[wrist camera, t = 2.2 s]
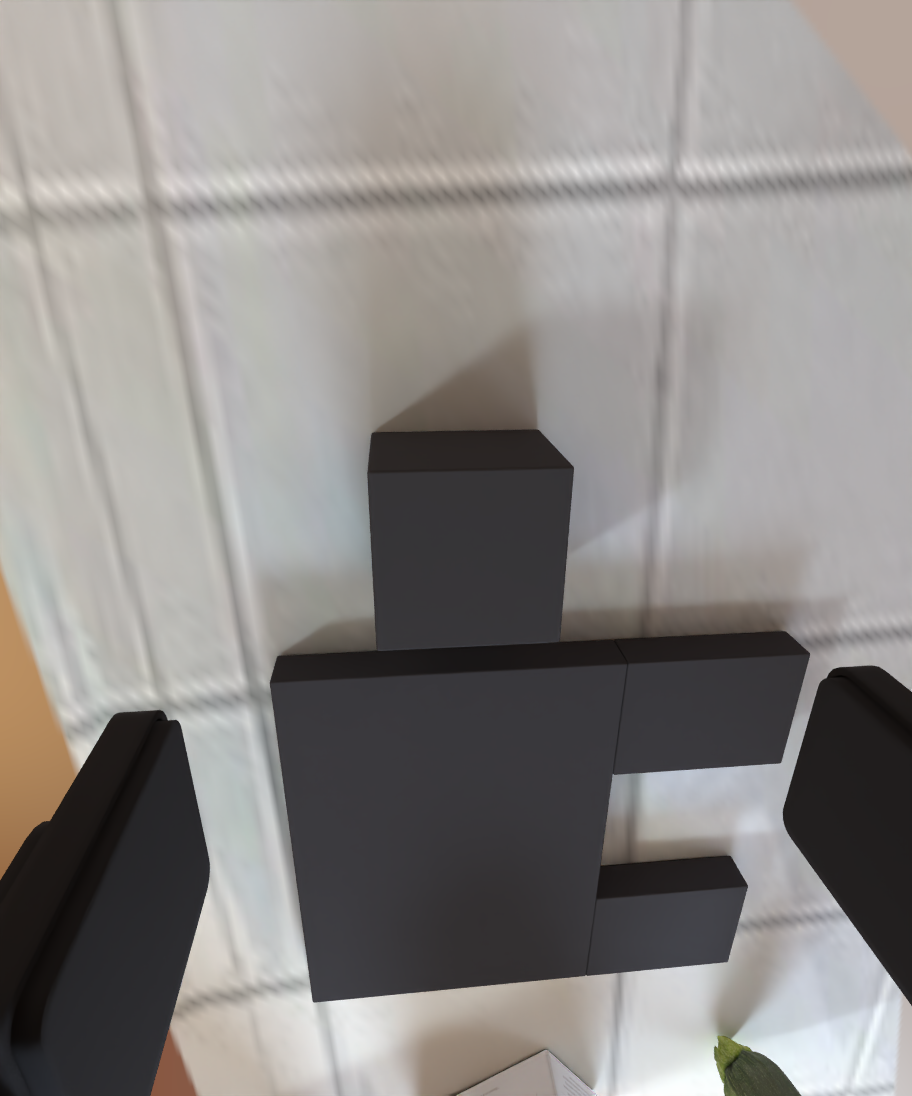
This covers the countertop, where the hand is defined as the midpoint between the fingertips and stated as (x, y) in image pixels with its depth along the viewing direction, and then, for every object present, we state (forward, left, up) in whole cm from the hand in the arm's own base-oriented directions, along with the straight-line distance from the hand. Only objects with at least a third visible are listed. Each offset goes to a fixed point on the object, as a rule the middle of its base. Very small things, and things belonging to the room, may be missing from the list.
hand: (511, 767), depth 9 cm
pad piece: (0, 0, -11) cm, 11 cm away
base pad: (-3, +13, -11) cm, 18 cm away
